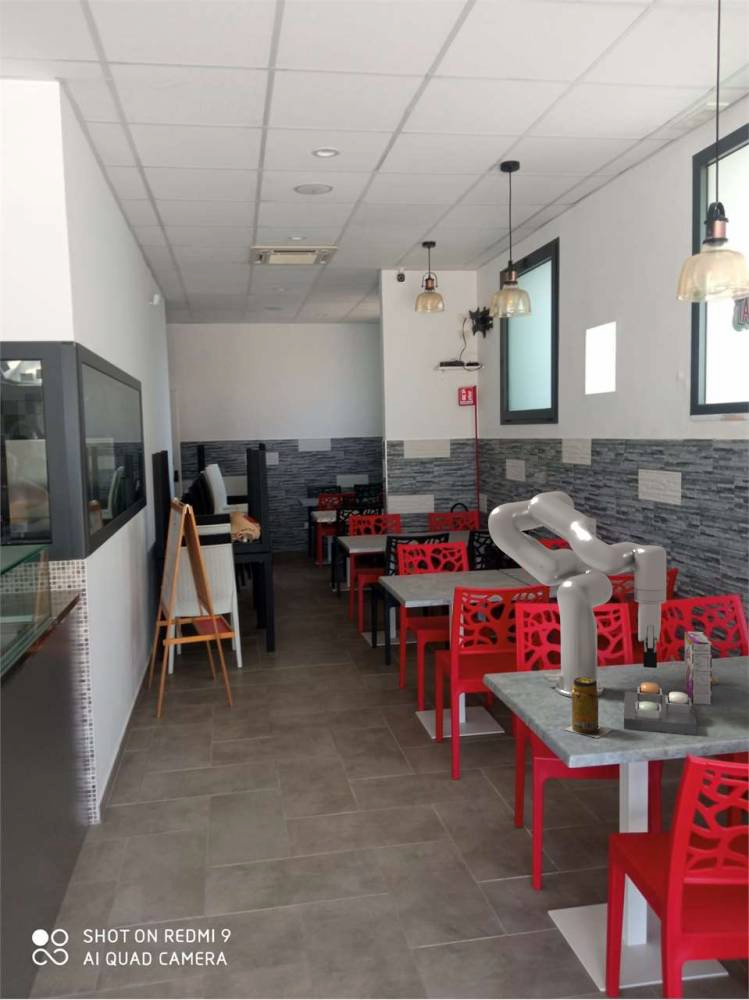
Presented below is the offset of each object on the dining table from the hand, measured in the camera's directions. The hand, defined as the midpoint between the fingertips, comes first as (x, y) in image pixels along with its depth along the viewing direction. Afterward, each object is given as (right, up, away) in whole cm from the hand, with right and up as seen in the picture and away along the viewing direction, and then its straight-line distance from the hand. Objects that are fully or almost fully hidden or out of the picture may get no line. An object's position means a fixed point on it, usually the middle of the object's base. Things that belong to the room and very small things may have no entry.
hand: (650, 666), depth 197 cm
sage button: (-4, -9, -10) cm, 14 cm away
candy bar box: (+15, -10, +8) cm, 20 cm away
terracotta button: (0, -7, +1) cm, 7 cm away
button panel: (0, -11, -5) cm, 12 cm away
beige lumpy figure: (+21, -9, +20) cm, 31 cm away
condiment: (-19, -13, -13) cm, 26 cm away
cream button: (+4, -7, -7) cm, 11 cm away
